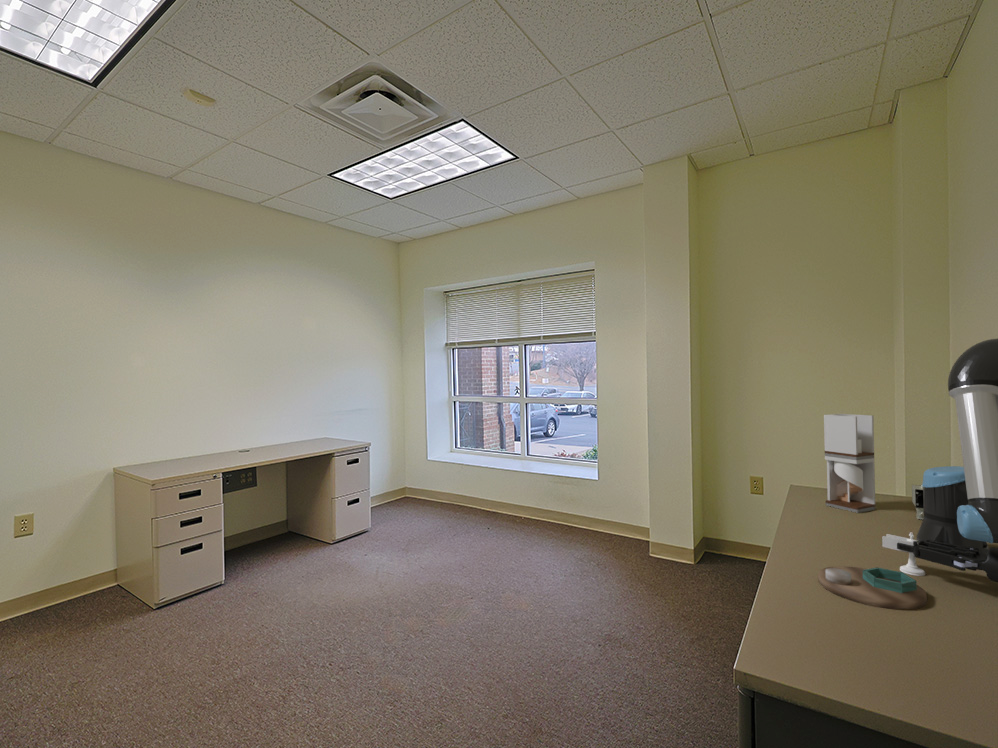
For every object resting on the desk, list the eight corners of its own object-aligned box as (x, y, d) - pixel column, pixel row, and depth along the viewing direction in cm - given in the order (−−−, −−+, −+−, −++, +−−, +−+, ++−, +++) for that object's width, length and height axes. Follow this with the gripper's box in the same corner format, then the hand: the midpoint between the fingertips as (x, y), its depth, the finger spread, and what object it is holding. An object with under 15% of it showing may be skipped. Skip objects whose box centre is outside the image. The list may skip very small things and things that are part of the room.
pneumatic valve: (916, 522, 164) (915, 486, 164) (912, 514, 174) (911, 480, 174) (938, 525, 161) (937, 488, 161) (932, 516, 171) (931, 482, 171)
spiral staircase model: (825, 505, 187) (823, 414, 187) (843, 502, 191) (841, 413, 191) (857, 513, 176) (855, 416, 177) (875, 509, 180) (873, 415, 181)
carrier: (892, 575, 121) (892, 561, 121) (950, 613, 101) (949, 596, 101) (804, 569, 125) (803, 556, 125) (843, 605, 105) (842, 589, 105)
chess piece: (919, 569, 124) (918, 530, 124) (929, 577, 120) (928, 536, 120) (896, 567, 126) (895, 528, 126) (904, 574, 121) (904, 534, 121)
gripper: (1005, 594, 104) (873, 560, 123) (1021, 577, 112) (895, 548, 132) (1004, 559, 104) (873, 531, 123) (1021, 544, 112) (895, 521, 132)
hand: (885, 540), depth 127 cm, fingers closed on chess piece, 2 cm apart
